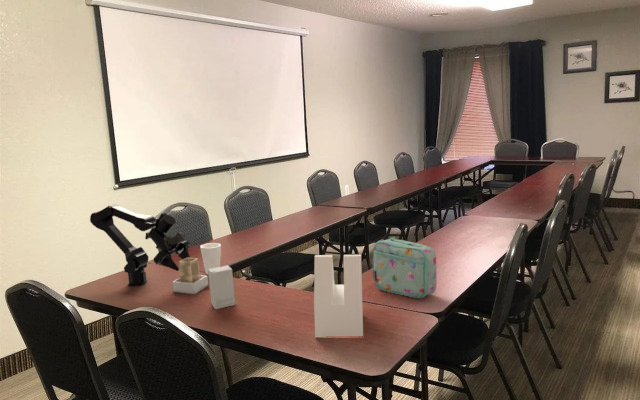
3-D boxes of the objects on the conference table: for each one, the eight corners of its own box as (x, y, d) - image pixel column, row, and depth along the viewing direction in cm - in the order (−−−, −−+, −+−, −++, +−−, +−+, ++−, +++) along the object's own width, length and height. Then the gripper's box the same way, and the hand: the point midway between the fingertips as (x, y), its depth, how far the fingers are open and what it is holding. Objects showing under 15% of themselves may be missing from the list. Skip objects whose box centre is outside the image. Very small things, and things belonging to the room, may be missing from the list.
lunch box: (367, 288, 208) (366, 237, 204) (382, 281, 215) (382, 232, 211) (424, 303, 190) (424, 248, 186) (438, 295, 197) (439, 242, 193)
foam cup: (218, 276, 231) (215, 248, 228) (199, 275, 232) (196, 248, 230) (225, 269, 240) (224, 243, 237) (207, 269, 242) (205, 242, 239)
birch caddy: (181, 289, 213) (178, 261, 211) (189, 284, 219) (187, 257, 217) (192, 290, 211) (189, 262, 209) (200, 285, 217) (198, 258, 215)
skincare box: (231, 300, 200) (228, 264, 197) (235, 305, 195) (233, 268, 192) (210, 305, 196) (207, 268, 194) (214, 310, 191) (211, 272, 188)
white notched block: (363, 339, 163) (361, 264, 158) (315, 339, 164) (312, 264, 159) (362, 315, 182) (360, 247, 177) (319, 315, 183) (317, 248, 178)
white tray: (173, 291, 212) (172, 281, 211) (187, 283, 222) (186, 273, 221) (194, 294, 209) (193, 283, 208) (208, 285, 218) (207, 275, 217)
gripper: (157, 232, 204) (182, 261, 203) (184, 222, 222) (208, 249, 220) (142, 250, 209) (167, 278, 207) (170, 239, 226) (193, 264, 224)
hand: (185, 266), depth 214 cm, fingers open, 9 cm apart
